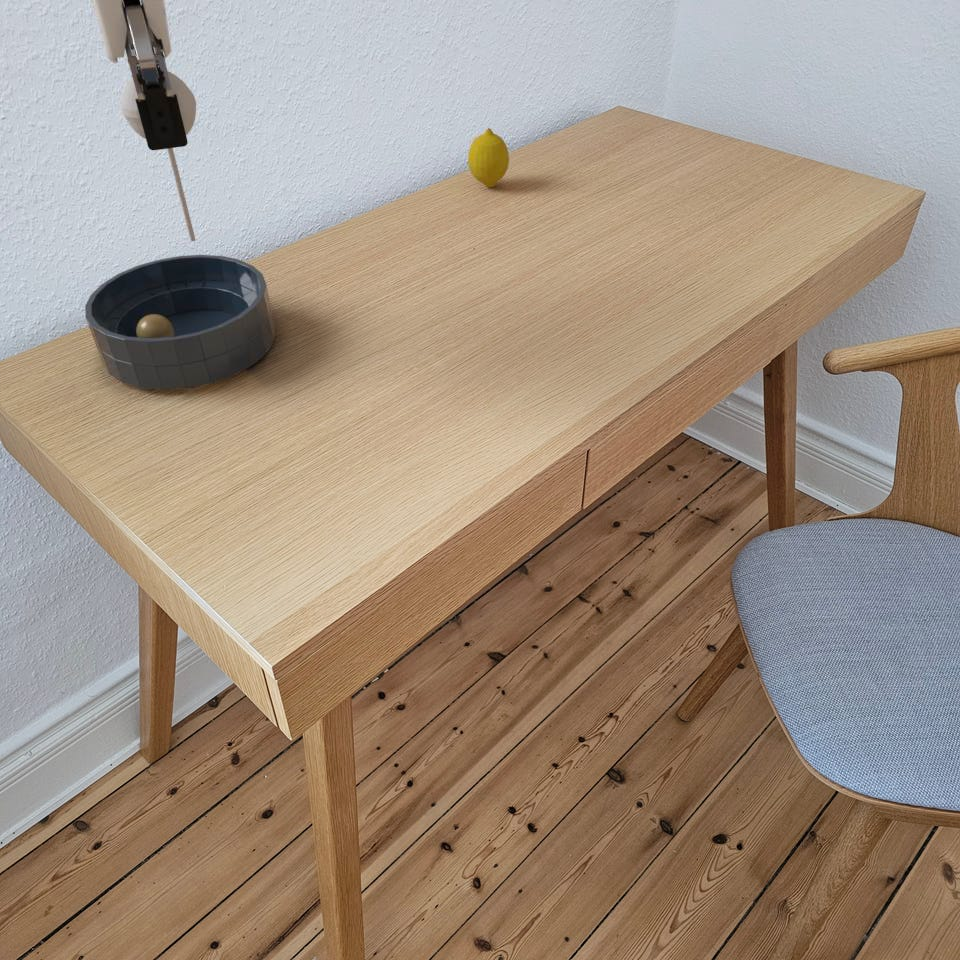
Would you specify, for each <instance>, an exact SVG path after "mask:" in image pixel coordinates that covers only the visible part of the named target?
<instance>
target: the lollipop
mask: <svg viewBox="0 0 960 960" xmlns="http://www.w3.org/2000/svg"><path fill="white" fill-rule="evenodd" d="M168 75H169V79H170V83H171V87H172V91H173V94H176V95H177V99H178V103H179V107H180V112H181V116H182V120H183V124H184V128H185V133H186V136H187V135H188V134H189V133H190V132H191V130H192V129H193V127H194V125H195V121H196V113H197V101H196V97H195V95H194V93H193V91H192V90H191V89H190V88H189V87H188V85H187V84H186V83H185V82H184V80H183V79H181V78H180V77H179V76H177V75H176V74H175V73H172V72H171V71H168ZM163 84H164V82H163ZM164 88H165V86H164ZM166 95H167V94H166ZM144 96H145V95H144ZM135 99H138V96H137V92H136V88H135V85H134V81H133V77H131V76H130V78H129V80H127V82H126V83H125V86H124V88H123V92H122V95H121V101H120V108H121V113H122V114H123V116H124V118H125V120H126V121H127V123H128V125H129V126H130V127H131V128H132V129H133V130H134V132H135V133H136V134H137V135H139V136H140V137H141V138H143V139H144V140H146V137H145V134H144V130H143V126H142V122H141V119H140V115H139V111H138V108H137V104H136V100H135ZM166 150H167V153H168V158H169V162H170V164H171V170H172V174H173V177H174V180H175V185H176V188H177V192H178V196H179V200H180V204H181V205H180V206H181V208H182V212H183V216H184V220H185V224H186V228H187V232H188V236H189V240H190V242H195V241H196V237H195V232H194V228H193V223H192V220H191V216H190V212H189V208H188V204H187V200H186V196H185V192H184V188H183V184H182V179H181V176H180V172H179V168H178V164H177V160H176V156H175V151H174V148H169V149H166Z"/></svg>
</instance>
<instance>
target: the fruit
mask: <svg viewBox="0 0 960 960" xmlns="http://www.w3.org/2000/svg"><path fill="white" fill-rule="evenodd" d="M467 155H468V156H467V163H468V168H469V172H470V173H471V175H472V176H473V178H474V179H475V180H476V181H478V182H479V183H481V184H483V186H485V187H486V188H493V187H494V186H496V184H497V183H498V182H499V181H501V180H502V179H503V177H504V176H505V174H506V173H507V171H508V169H509V165H510V156H509V150H508V147H507V144H506V142H505V141H504V139H503V138H502V137H501V136H500V135H498V134H495V133H494V131H493V130H492V129H491V128H490V127H488V128H487V129H486V130H485V131H484V133H482V134H479V135H478V136H476V137H475V138H474V139H473V140H472V142H471V144H470V147H469V150H468V154H467Z"/></svg>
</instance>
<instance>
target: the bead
mask: <svg viewBox="0 0 960 960" xmlns="http://www.w3.org/2000/svg"><path fill="white" fill-rule="evenodd" d="M136 334H137V337H139V338H163V337H174V328H173V325H172V323H171V322H170V321H169V320H168V319H167V318H166V317H164V316H162V315H158V314H150V315H147V316H145V317H143V318H142V319H141V320H140V321H139V323H138V325H137V328H136Z"/></svg>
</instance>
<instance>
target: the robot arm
mask: <svg viewBox="0 0 960 960" xmlns="http://www.w3.org/2000/svg"><path fill="white" fill-rule="evenodd" d="M91 1H92V5H93V9H94V12H95V15H96V19H97V22H98V26H99V30H100V34H101V37H102V41H103V45H104V49H105V52H106V56H107V59H108V60H109V61H110V62H112V63H113V64H118V62H119V60H118V58H119V59H120V58H124V57H125V54H126V57H127V63H128V65H129V68H130V72H131V75H130V78H131V77H133V81H134V85H135V88H136V92H137V96H138V99H135V100H136V104H137V108H138V111H139V115H140V119H141V122H142V126H143V130H144V134H145V137H146V139H145V140H146V144H147V147H148V149H149V150H150V151H160V150H167V149H169V148H173V149H176V148H184V147H186V146H187V145H188V142H189V141H188V138H187V135H186V133H185V128H184V124H183V120H182V116H181V112H180V107H179V103H178V99H177V95H176V94H173V91H172V87H171V83H170V79H169V75H168V72H169V70H168V68H167V63H166V58H168V57H169V56H170V54H171V53H172V47H171V46H172V45H171V38H170V29H169V22H168V16H167V15H168V14H167V10H166V4H165V0H91ZM163 82H164V84H163ZM164 86H165V88H164ZM166 94H167V95H166ZM144 95H145V96H144Z"/></svg>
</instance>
